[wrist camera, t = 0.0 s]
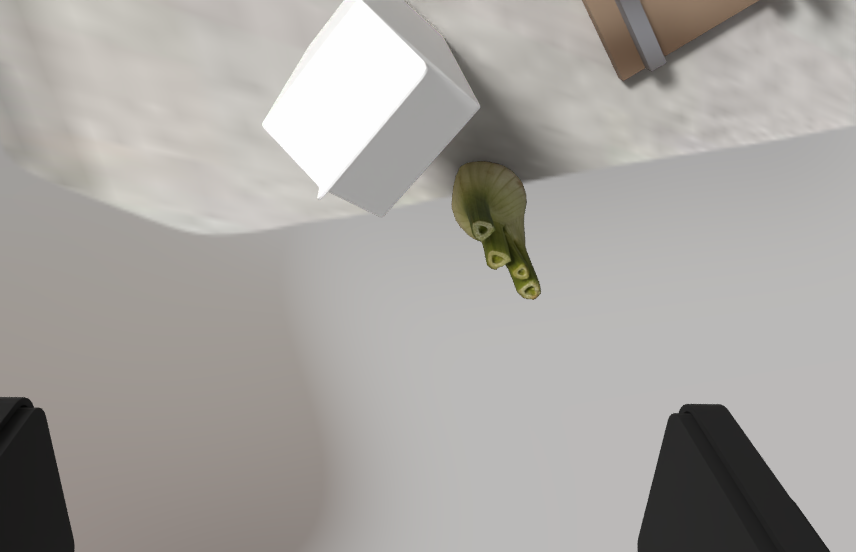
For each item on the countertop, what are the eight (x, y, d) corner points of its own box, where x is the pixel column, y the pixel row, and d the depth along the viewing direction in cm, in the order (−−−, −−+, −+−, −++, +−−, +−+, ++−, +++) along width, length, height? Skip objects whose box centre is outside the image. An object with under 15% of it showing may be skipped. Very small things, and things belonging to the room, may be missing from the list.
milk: (443, 36, 44) (499, 128, 24) (381, 111, 46) (386, 254, 26) (366, -34, 42) (358, 4, 22) (304, 47, 44) (246, 150, 24)
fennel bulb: (441, 156, 47) (459, 225, 36) (514, 142, 47) (553, 206, 36) (456, 235, 50) (476, 320, 39) (525, 221, 50) (564, 303, 39)
